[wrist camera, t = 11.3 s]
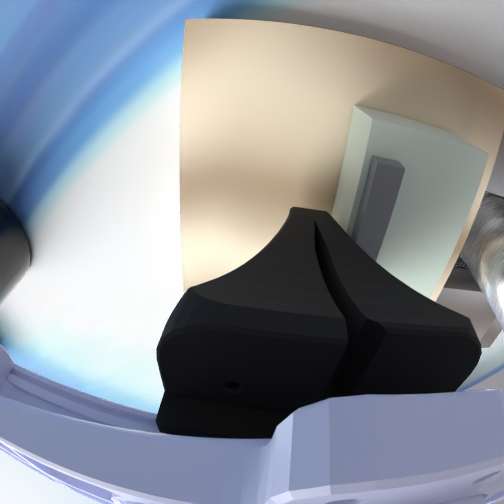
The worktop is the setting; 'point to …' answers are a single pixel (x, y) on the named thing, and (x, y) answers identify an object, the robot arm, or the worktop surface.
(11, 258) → the supplement bottle
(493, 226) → the peg
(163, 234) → the worktop surface
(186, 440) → the robot arm
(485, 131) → the housing
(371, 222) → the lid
